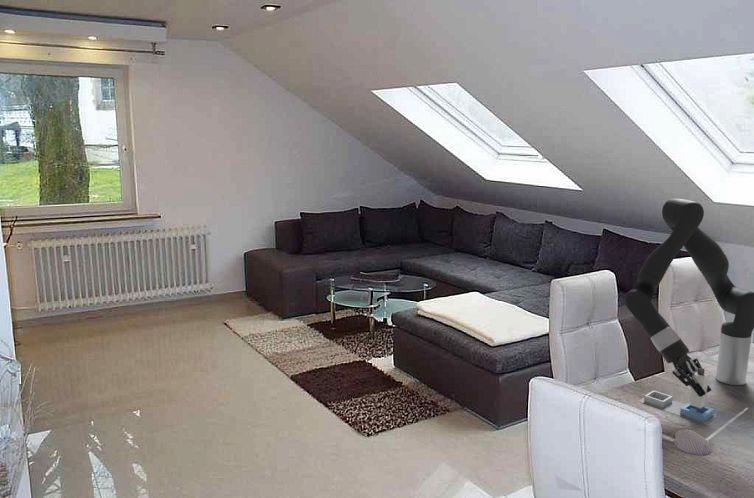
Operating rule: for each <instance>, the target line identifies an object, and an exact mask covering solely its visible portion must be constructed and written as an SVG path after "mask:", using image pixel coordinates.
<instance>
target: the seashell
mask: <svg viewBox="0 0 754 498" xmlns="http://www.w3.org/2000/svg"><path fill="white" fill-rule="evenodd" d="M674 434H675V435H674V436H675V437H674V439H673V445H675V447H676V448H677V449H678V450H679V451H680V450H681V452H684V453H687V454H690V455H697V456H704V455H705V456H706V455H707V456H708V455H709V454H710V455H711V453H712V452H713V447H712V445H711V444H710V442H709V441H708V440H707V439H706V438H705V437H704V436H702V434H699V433H698V432H696V431H694V430H690V429H687V428H685V429H684V428H683V429H679V430H678V431H676V432H675V433H674Z"/></svg>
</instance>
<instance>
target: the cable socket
mask: <svg viewBox="0 0 754 498" xmlns="http://www.w3.org/2000/svg"><path fill="white" fill-rule="evenodd" d="M637 402H639V403H641V404H644V405H647V406H650V407H654V408H656V409H659V410H662V411H664V412H665V411H666V412H668V413H671V414H673V415H677V416H679V417H683V418H686V419H689V420H691V421H693V422H697V423H700V424H703V425H708V424H709V423H710V422H712V420H713V421H714V419H716V418H717V417H718V416H719V414H716V413H714V411H715V409H714V408H713V407H712V408H711V407H709V406H706V405H705V406H704V407H702V408H698V407H695V406H692V405H689V402H688V403H686V404H685V403H682V402H679V401H675V400H673V395H670V394H666V393H662V392H660V391H658V390H652V391H650V392H648V393H647V394H645V395H644V397H642V398H640V399H639V400H637Z"/></svg>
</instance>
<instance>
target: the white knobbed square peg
mask: <svg viewBox="0 0 754 498" xmlns="http://www.w3.org/2000/svg"><path fill="white" fill-rule="evenodd" d="M705 370H706V369H705V368H703V367H702V368H698V372H695V373H694V377H695V378H696V380H697V382H698V383H699V384H700V386H701V387H702V388H703V389H704V391H705V392H706V394H705V395H703V396H701V397H699V396H698V394H697V393H696V392H695V390H694V389H693V388H692V386H690V393H689V402H688V403H689V405H692V406H695V407H698V408H702V407H704V406H706V401H707V394H708V393H707V386H708V385H709V377H710V374H709V373H706V371H705Z"/></svg>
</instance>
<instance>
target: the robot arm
mask: <svg viewBox="0 0 754 498" xmlns="http://www.w3.org/2000/svg"><path fill="white" fill-rule="evenodd" d="M661 214H662V219H663V221H664V223H665V224H666V225H667V226H668V228H669V229H670V230H671V231H672V232H671V234H670V235H669V236H668V238H667V239H666V240H665V241H664V242H663V243H661V244H660V245H658V247H656V248H655V249H654V250H653V251H652V252H651V253H650V254H649V255H648V256H647V257H646V258H645V261H644V263H643V265H642V266H641V268H640V271H638V274H637V278H636V282H635V283H634V285H633V287H632V289H630V290H629V291H628V292H626V294H625V296H624V298H623V299H624V300H623V301H624V306H625V307H626V308H627V309H628V311H629V312H630V313H631V314H632V315H633V317H634V318H635V320H637V321H638V322H639V324H640V326H641V327H642V329H643V330H644V332H645V333H646V334H647V336H648V337H649V339H650V340H651V341H652V344H653V345H654V347H655V348H656V349H657V351H658V352H659V353H660V355H661V356H662V358H663V359H664V360H665V362H666V363H667V364H671V363H672V364H673V367H674V370H672V372H671V373H672V374H673V375H674V377H676V379H678V380H679V381H680V382H681V383H682V384H683V385H684V386H686V387H691V386H692V388H693V389H694V390H695V392H696V393H697V394H698V396H699V397H701V396H703V395H705V394H706V392H705V391H704V389H703V388H702V387H701V386H700V384H699V383H698V382H697V380H696V378H695V377H694V373H695V372H698V368H702V369H703V367H702V364H701V363H700V361H699V359H698V358H694V359H693V358H691V356H689V355H688V354H689V352H690V349H689V348H688V347H687V346H686V344H685V343H684V341H682V339H681V338H680V335H678V333H677V332H676V331H675V330H674V329H673V328H672V327H671V325H670V324H669V323H668V322H667V320H666V319H665V317H663V316H662V314H661V313H660V312H658V310H657V308H656V307H655V306H654V304H653V302H652V300H653V299H654V296H655V293H656V291H657V288H658V287H659V286H660V283H661V282H662V281H663V278H664V276H665V275H666V273H667V271H668V269H669V268H670V266H671V264H672V262H673V261H674V259H675V258H676V257H677V256H678V254H679V253H680V251H681V250H682V249H683V247H684V249H685V250H686V252H687V253H688V255H689V256H690V257H691V259H692V261H693V262H694V264H695V266H696V267H697V269H698V271H700V273H701V275H702V276H703V278H704V279H705V281H706V283H707V284H708V286H709V287H710V288H711V291H712V293H713V295H714V297H715V299H716V301H717V303H718V306H719V307H720V308H721V309H722V310H723V311H725V312H727V313H729V314H731V315H732V314H733V315H734V319H733V321H729V322H724V323H722V324H721V327H720V334H719V335H720V336H719V337H720V338H719V347H718V354H717V364H716V370H715V371H716V372H715V379H716V380H717V381H718V382H720V383H723V384H726V385H731V386H743V385H745V384H746V383H747V375H748V374H747V373H748V366H749V360H750V350H751V343H752V335H753V331H754V291H751V290H748V289H745V288H740V287H738V286H736V285H735V284H734V283H733V282H732V280H731V279H730V278H729V276H728V272H729V267H730V266H729V265H730V264H729V263H730V262H729V259H728V257H727V255H726V254H725V252H724V251H723V249H722V247H721V246H720V244H719V243H718V242H717V241H715V239H713V238H712V237H711V236H709V235H708V234H707V233H706V232H704V231H703V230H702V229H701V228H700V227H699V226H700V225H701V223H702V221H703V219H704V217H705V216H704V215H705V211H704V208H703V206H702V204H701V203H699V202H697V201H694V200H689V199H685V198H670V199H668V200H667V201H666V202H664V204H663V205H662V209H661ZM711 391H712V388H711V387H710V386H709V384H708V386H707V394H708V393H709V392H711Z"/></svg>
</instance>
